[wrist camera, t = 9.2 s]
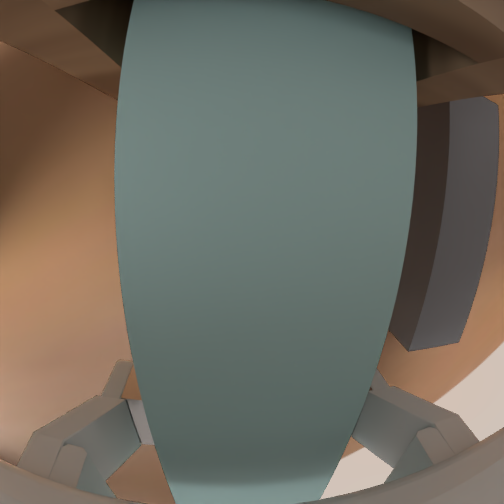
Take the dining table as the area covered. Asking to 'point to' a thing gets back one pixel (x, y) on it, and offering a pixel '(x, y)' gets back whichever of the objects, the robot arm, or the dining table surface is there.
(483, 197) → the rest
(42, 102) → the dining table surface
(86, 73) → the block
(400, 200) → the peg
